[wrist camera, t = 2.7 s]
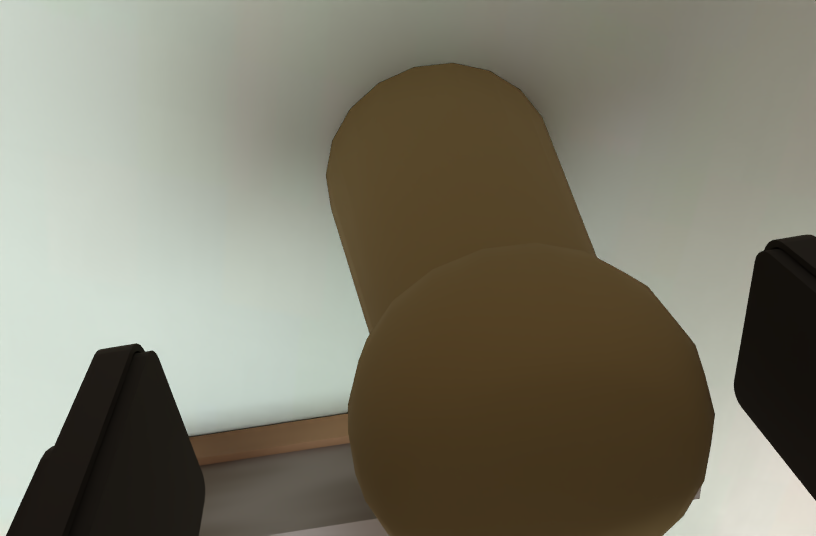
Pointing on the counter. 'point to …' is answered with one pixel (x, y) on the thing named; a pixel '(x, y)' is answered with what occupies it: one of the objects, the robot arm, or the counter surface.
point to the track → (284, 482)
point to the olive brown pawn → (501, 330)
